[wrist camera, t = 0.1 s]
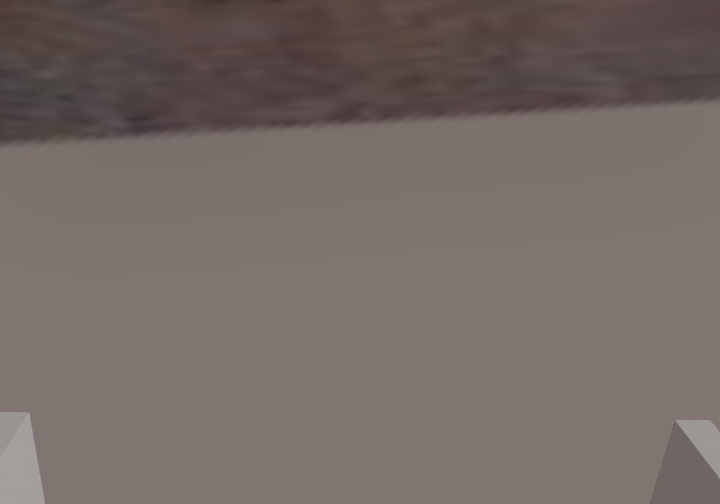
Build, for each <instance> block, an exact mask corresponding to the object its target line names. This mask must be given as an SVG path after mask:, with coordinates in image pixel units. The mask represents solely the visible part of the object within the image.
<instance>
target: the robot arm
mask: <svg viewBox="0 0 720 504" xmlns="http://www.w3.org/2000/svg"><path fill="white" fill-rule="evenodd" d="M0 504H45V502H44V496H43V489H42V484H41V478H40V472H39V467H38V461H37V455H36V449H35V444H34V438H33V432H32V426H31V421H30V415H29V413H25V412H0ZM650 504H720V432H719V431H718V430H717V428H716V427H715V426H714V425H713V424H712V422H711V421H709V420H675V421H674V424H673V428H672V431H671V435H670V438H669V441H668V444H667V448H666V451H665V454H664V458H663V461H662V465H661V468H660V471H659V474H658V478H657V481H656V485H655V488H654V491H653V494H652V498H651V501H650Z"/></svg>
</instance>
